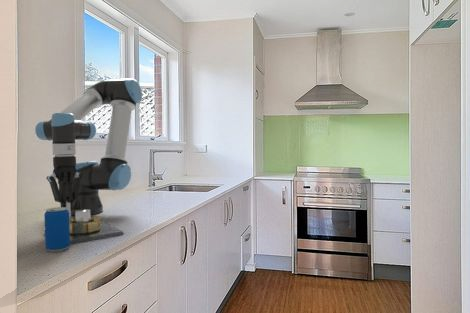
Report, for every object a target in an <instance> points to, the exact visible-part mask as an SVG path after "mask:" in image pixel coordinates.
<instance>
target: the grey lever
mask: <svg viewBox="0 0 470 313" xmlns="http://www.w3.org/2000/svg"><path fill="white" fill-rule="evenodd" d="M101 222H102V218H101V216H93V217H91V222H89V223H84V220H78V221H77V224H76V223H75V217H73V216H71V217H69V225H70V233H71V234H72V233H74V234H77V233H87V232H88V233H89V232H93V231H97V230H100V228H101Z"/></svg>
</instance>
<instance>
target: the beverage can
mask: <svg viewBox="0 0 470 313" xmlns="http://www.w3.org/2000/svg"><path fill="white" fill-rule="evenodd" d="M44 239H45V242H44V243H45V244H44V245H45V250H46V251H48V252H49V253H50V252H51V253H58V252H63V251H66V250H68V248H69V247H70V246H71V244H70V225H69V211H68V210H67V208H66V207H61V206H57V207H51V208H47V209H45V213H44Z"/></svg>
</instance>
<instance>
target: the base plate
mask: <svg viewBox="0 0 470 313" xmlns="http://www.w3.org/2000/svg"><path fill="white" fill-rule="evenodd" d="M74 216H75V217H74V218H75V223H76V224H77V221H78V220H84V223H89V222H91V218H92V217H91V216H92V214H91V215H90V210H89V209H83V210H77V211H75V215H74ZM122 235H124V231H123V230H121V229H120V228H117V227H116V226H113V225H111V224H109V223H106V222H104V221H101V228H100V230H97V231H93V232H89V233H88V232H87V233H77V234H74V233H72V234H71V233H70V245H73V244H78V243H85V242H91V241H96V240H101V239H108V238H113V237H118V236H122Z"/></svg>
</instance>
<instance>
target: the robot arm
mask: <svg viewBox="0 0 470 313" xmlns="http://www.w3.org/2000/svg"><path fill="white" fill-rule="evenodd" d="M142 99H143V92H142V89H141V85H140V83H139V82H138V81H137V80H136V79H134V78H126V77H125V78H120V79H117V78H116V79H114V78H113V79H105V80H100V81H99V82H96V83H95V84H93V85H91V86H90V87H88V88H87V89H85V90H84V91H83V93H82V95H81V96H80V97H78V99H76V100H75V101H74V102H73V103H71V104H70V105H68V106H67V107H66V108H64V109H63V110H62V111H61V112H54V113H52V114H51V119H49V120H43V121H39V122H38V123H37V124H36V125H35V135H36V136H37V138H38V139H39V140H42V141H48V142H49V141H52V155H53V157H52V164H53V165H52V166H53V170H52V174H50V175H49V176H46V180H47V182H49V186H50V189H51V192H52V196H53V199H54V202H57V203H59V204H60V207H66V208H67V210H68V211H69V217H72V216H75V211H77V210H83V209H89V210H90V215H91V216H92V215H96V214H100V213H102V212H104V205H103V204H102V201H101V197H100V195H99V191H122V190H123V189H125V188H127V186H128V185H129V183H130V181H131V177H132V171H131V166H130V165H129V164H128V160H127V159H126V151H127V144H128V138H129V131H130V124H131V119H132V111H134V110H135V109H136V106H137V104H140V103H141V101H142ZM103 105H110V106H111V108H112V110H111V116H110V123H109V128H108V129H109V130H108V134H107V135H108V136H107V142H106V145H105V146H106V147H105V148H106V149H105V152H104V155H103V156H102V157H101V158H100V162H98V160H92V161H86V162H85V161H83V162H77V157H76V156H75V155H76V152H77V151H76V141H81V140H83V141H88V140H91V139H93V138H94V137H95V136H96V134H97V128H96V125H95V124H94V123H93V122H92V121H89V120H88V121H87V120H85V119H84V118H85V117H86V116H87V115H88V114H89V113H91V112H92V111H93V110H94V109H97V108H100V107H101V106H103ZM83 119H84V120H83Z"/></svg>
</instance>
